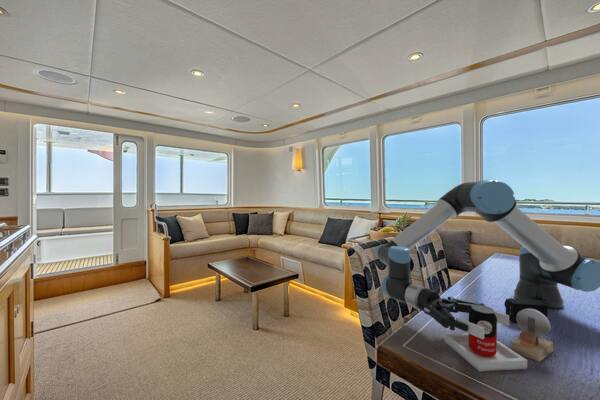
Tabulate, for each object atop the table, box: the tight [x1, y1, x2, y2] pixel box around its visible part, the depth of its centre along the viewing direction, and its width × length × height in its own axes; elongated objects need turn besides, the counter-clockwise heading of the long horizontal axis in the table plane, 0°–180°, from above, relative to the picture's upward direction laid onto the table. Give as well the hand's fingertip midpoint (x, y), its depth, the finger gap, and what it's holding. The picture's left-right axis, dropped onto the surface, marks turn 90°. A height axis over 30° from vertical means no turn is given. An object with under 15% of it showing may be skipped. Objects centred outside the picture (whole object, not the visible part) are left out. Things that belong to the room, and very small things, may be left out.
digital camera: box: [504, 297, 549, 324], centre depth 89 cm, size 10×5×7 cm, turn 81°
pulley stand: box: [510, 308, 555, 363], centre depth 71 cm, size 10×7×12 cm
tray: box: [444, 332, 528, 372], centre depth 70 cm, size 13×13×2 cm
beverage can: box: [468, 305, 498, 357], centre depth 70 cm, size 6×6×12 cm
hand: (496, 326), depth 67 cm, fingers open, 13 cm apart
